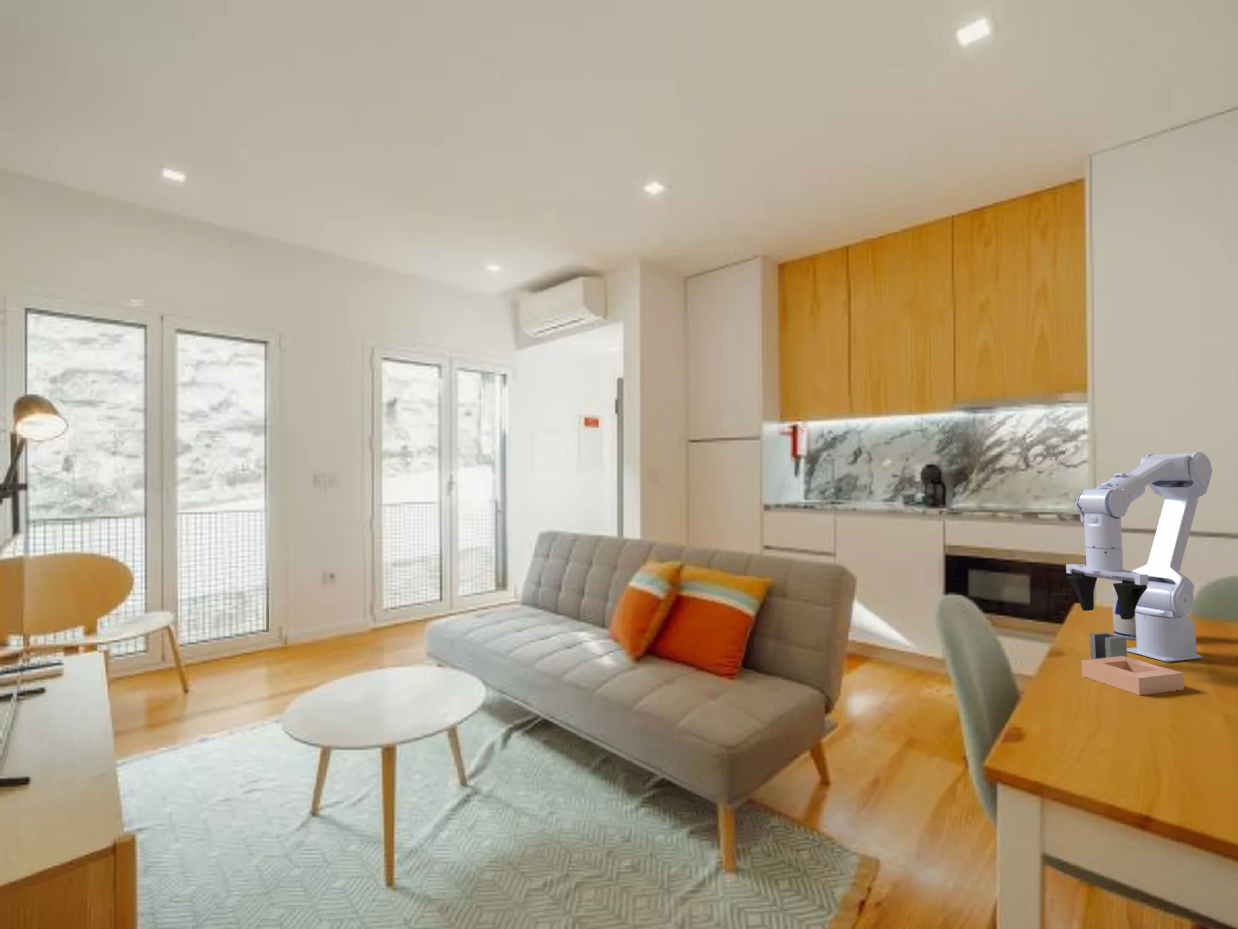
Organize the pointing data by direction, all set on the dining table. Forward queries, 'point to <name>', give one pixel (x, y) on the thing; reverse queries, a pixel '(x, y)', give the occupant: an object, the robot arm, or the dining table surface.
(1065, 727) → the dining table surface
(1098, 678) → the well
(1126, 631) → the energy drink
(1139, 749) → the dining table surface
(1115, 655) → the bracket
